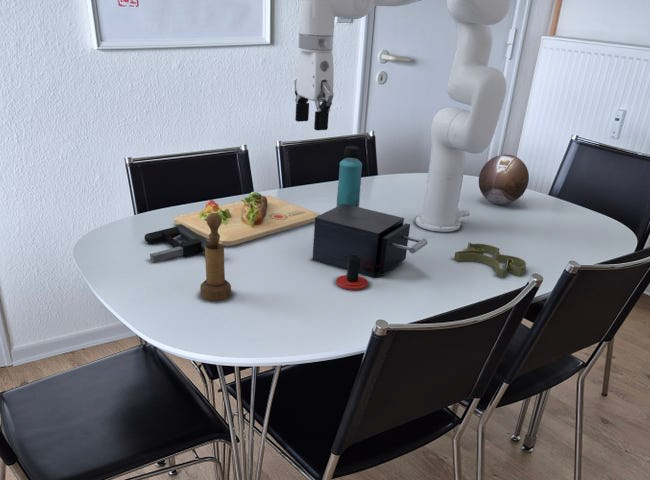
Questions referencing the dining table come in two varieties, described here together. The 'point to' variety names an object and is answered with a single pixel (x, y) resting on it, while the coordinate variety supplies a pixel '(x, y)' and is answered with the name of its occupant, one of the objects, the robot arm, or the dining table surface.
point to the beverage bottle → (349, 178)
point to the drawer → (395, 247)
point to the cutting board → (248, 218)
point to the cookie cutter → (491, 259)
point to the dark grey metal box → (351, 236)
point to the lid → (352, 276)
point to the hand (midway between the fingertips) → (311, 125)
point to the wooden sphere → (503, 179)
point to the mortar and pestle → (215, 265)
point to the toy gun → (176, 243)
